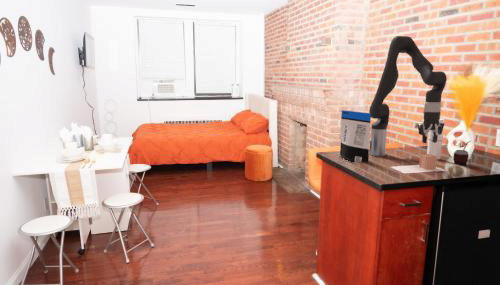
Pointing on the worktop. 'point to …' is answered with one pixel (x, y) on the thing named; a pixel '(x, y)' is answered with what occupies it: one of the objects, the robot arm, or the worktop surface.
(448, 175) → the worktop surface
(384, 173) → the worktop surface
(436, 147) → the cylindrical container
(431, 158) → the salmon pink cube
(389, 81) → the robot arm
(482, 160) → the worktop surface
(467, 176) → the worktop surface
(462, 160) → the mate gourd
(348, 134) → the protein powder
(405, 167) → the white board
